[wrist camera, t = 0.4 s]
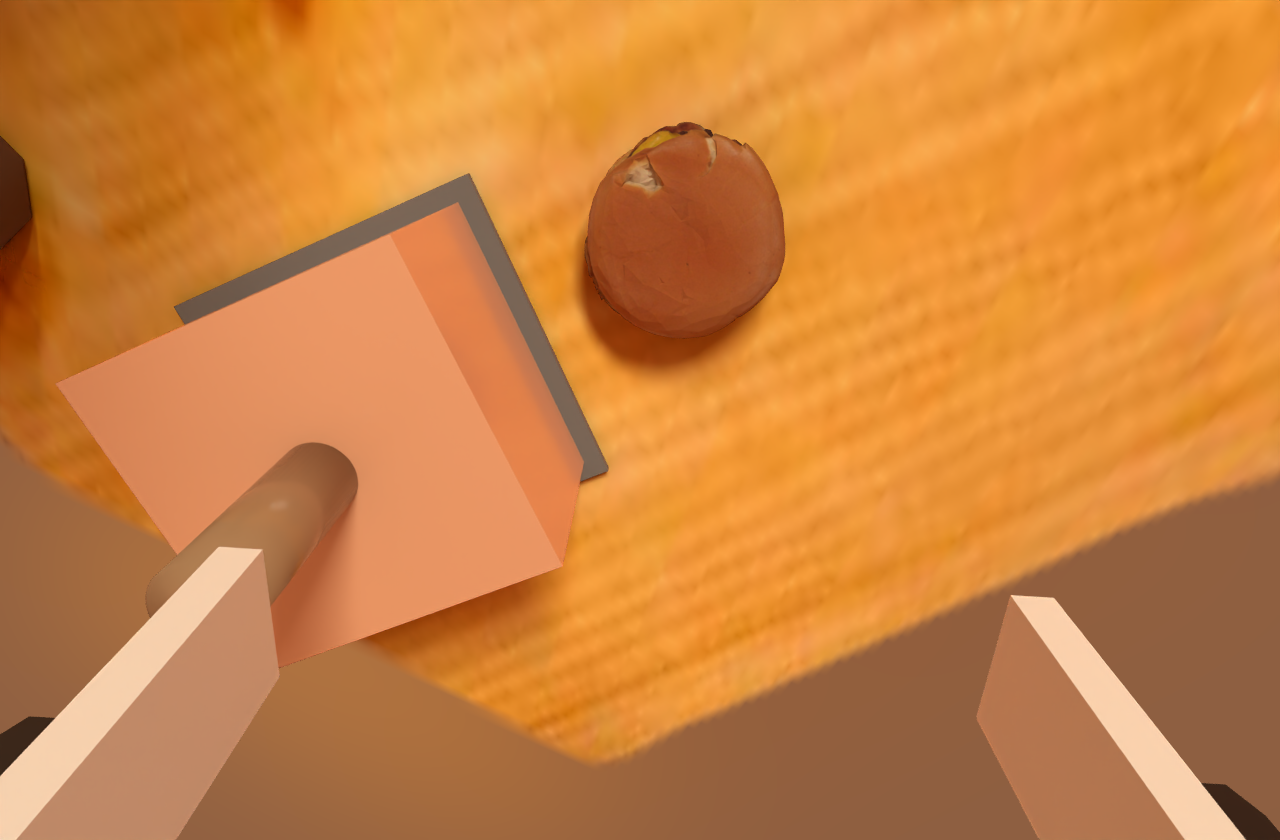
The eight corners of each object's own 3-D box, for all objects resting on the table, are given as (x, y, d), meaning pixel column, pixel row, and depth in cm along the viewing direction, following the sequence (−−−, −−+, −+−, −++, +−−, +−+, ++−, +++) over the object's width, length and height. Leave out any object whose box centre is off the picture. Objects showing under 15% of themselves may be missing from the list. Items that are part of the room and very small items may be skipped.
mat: (179, 304, 42) (173, 306, 41) (469, 173, 39) (466, 173, 39) (344, 566, 47) (341, 571, 47) (608, 467, 45) (607, 470, 44)
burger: (697, 359, 43) (702, 387, 38) (551, 254, 41) (539, 271, 36) (819, 205, 40) (839, 216, 35) (668, 84, 38) (670, 80, 34)
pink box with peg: (200, 316, 42) (-170, 486, 23) (458, 201, 39) (278, 286, 21) (347, 551, 46) (140, 848, 28) (584, 461, 44) (531, 720, 26)
